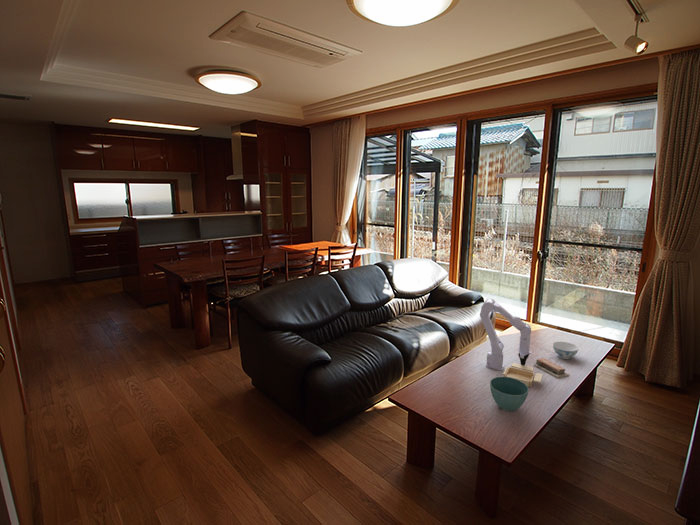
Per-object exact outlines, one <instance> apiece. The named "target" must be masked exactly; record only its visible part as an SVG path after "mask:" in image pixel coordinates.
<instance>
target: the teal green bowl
mask: <svg viewBox="0 0 700 525" xmlns="http://www.w3.org/2000/svg"><path fill="white" fill-rule="evenodd" d="M489 386H490V393H491V396H492V398H493V400H494V402H495V404H496V405H497V406H498V408H500V410H503V411H505V412H515V411H516V410H518V409H519V408H520V407H522V406H523V404H525V402H526V399H527V398H528V395H529V386H527V385H526V384H524V383H523V382H521V381H519V380H517V379H514V378H510V377H503V376H498V377H497V376H496V377H493V378H492V379H490V381H489Z"/></svg>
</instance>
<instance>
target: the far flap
mask: <svg viewBox="0 0 700 525" xmlns="http://www.w3.org/2000/svg"><path fill="white" fill-rule="evenodd" d="M542 379H543V373H540V372H539V373H537V372H536V373H535V376H534V380H533V383H540V384H541V381H542Z"/></svg>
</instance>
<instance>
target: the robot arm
mask: <svg viewBox="0 0 700 525" xmlns="http://www.w3.org/2000/svg"><path fill="white" fill-rule="evenodd" d="M491 312H493V313H499V314H500V315H501V316H503V317H504V318H505V319H507V320H508V322H509V324H510V325H511V326H513V327H514V328H515V329H516V330H517V331H519V333H520V336H519V345H518V346H519V347H518V354H517V355H518V357H519V360H520V365H524V366H526V363H527V360H528V358H529V356H530V355H531V354H532V351H530V348H531V347H530V346H531V334H532V327H531V325H530V324H528V323H527V322H524V321H523V320H522V319H521V317H519V316H516V315H512V314H511V313H510V312H509V311H508V310H506V309H505V308H504V307H503V306H502V305H501V304H500V303H498V302H497V301H495V300H494V298H487V299H486V300H485V301H484V302H483V304H482V305H481V308H480V313H479V317H480V320H481V322H482V324H483V327H484V329H485V331H486V334H487V336H488V339H489V341H490V343H489V344H490V346H491V351H488V352H487V355H486V363H485V364H486V368H490V369H493V370H498V371H502V370H503V368H504V367H505V364H503V363H504V352H503V350H504V348H505V346H504V343H503V342H502V341H501V340H500V338H499V337H498V334H497V332H496V330H495V328H494V325H493V323H492V320H491V317H490V316H489V315H490V313H491Z"/></svg>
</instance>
